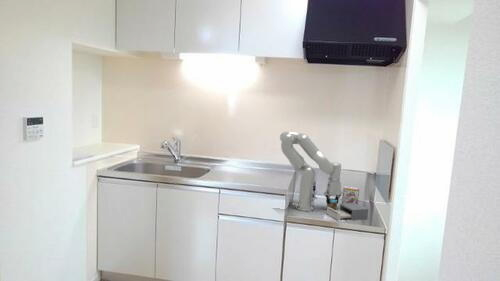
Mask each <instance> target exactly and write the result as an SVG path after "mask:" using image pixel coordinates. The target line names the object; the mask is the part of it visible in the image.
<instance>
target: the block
mask: <svg viewBox="0 0 500 281" xmlns="http://www.w3.org/2000/svg"><path fill="white" fill-rule="evenodd" d="M337 206H338V203H330V204H328V203H326V208H327V207H330V208H332V209H334V210H335V211H336V210H337Z"/></svg>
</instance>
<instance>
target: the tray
mask: <svg viewBox="0 0 500 281" xmlns="http://www.w3.org/2000/svg"><path fill="white" fill-rule="evenodd" d="M326 214H327V215H328V216H330V217H332V218H333V219H335V220H337V221H338V220H340V221H341V219H349V218H351V214H349V213H347V212H345V211H342V210H340V209H338V210H337V209H336V210H334V209H332V208H330V207H327V206H326Z"/></svg>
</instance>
